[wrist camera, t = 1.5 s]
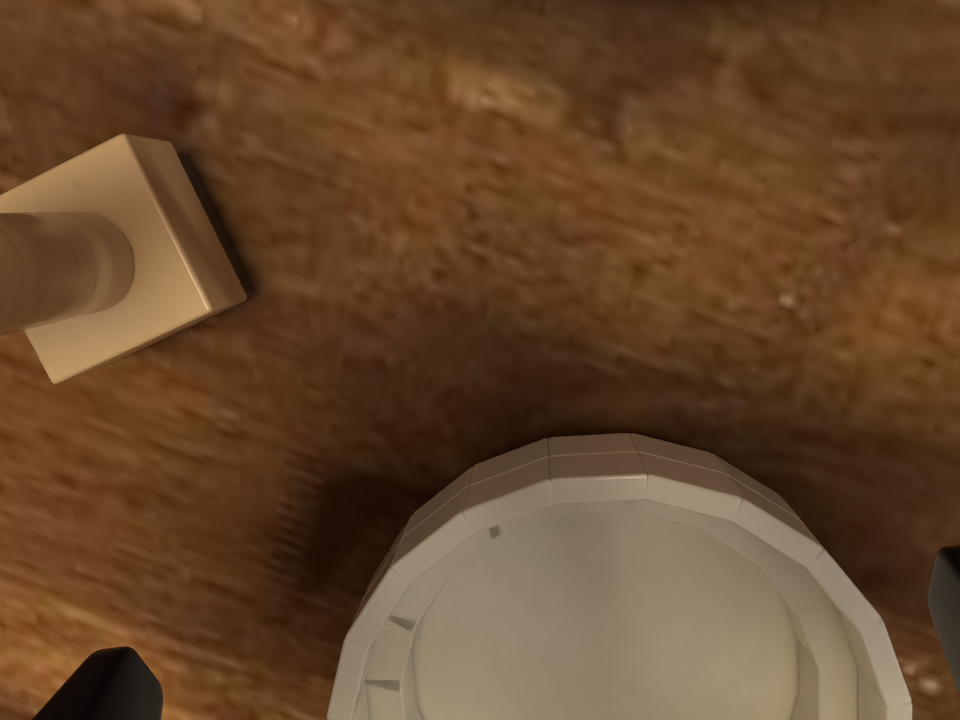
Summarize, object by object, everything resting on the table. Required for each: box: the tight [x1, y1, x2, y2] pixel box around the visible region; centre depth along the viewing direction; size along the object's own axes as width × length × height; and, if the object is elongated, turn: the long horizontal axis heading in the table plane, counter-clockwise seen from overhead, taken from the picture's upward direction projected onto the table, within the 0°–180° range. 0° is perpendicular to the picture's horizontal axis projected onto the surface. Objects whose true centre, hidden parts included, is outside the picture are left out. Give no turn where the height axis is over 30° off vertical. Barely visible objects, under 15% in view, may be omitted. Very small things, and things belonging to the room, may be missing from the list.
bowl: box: [327, 433, 912, 720], centre depth 21 cm, size 13×13×4 cm
